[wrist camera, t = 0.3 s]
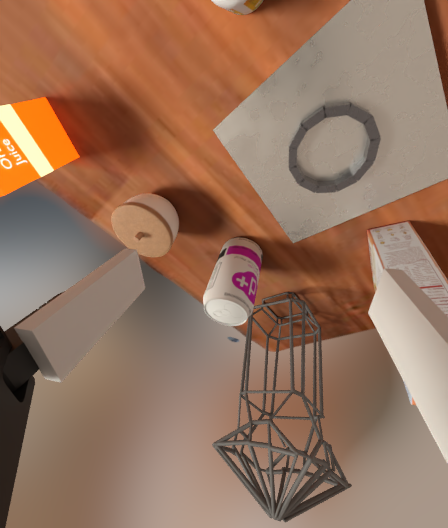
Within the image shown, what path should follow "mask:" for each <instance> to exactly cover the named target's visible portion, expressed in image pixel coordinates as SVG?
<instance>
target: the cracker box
mask: <svg viewBox="0 0 448 528" xmlns="http://www.w3.org/2000/svg"><path fill="white" fill-rule="evenodd" d="M367 235H368V244H369V252H370V260H371V268H372V276H373V285H374V289H375V293H376V290H377V287H378V284H379V282H380V279H381V276H382V273H383V271H384V268H387V269H400V270H403V271H404V272H405V273H406V274H407V275H408V276H409V277H410V278H411V279H412V280H413V281H414V282H415V283H416V284H417V285H418V287H419V288H420V289H421V290H422V291H423V292H424V293H425V294H426V295H427V296H428V297H429V298H430V299H431V300H432V301H433V302H434V303H435V304H436V305H437V306H438V307H439V308H440V309H441V310H442V311H443V312H444V313H445V315H446V316H447V317H448V280H447V278H446V276H445V275H444V273H443V272H442V270H441V269H440V267H439V266H438V264H437V263H436V261H435V260H434V258H433V256H432V255H431V253H430V252H429V250H428V249H427V247H426V246H425V244H424V243H423V241H422V240H421V238H420V236H419V235H418V234H417V232H416V231H415V229H414V227H413V226H412V224H411V223H410V221H406V222H401V223H396V224H392V225H387V226H382V227H378V228H373V229H368V230H367ZM403 381H404V380H403ZM404 384H405V382H404ZM405 388H406V391H407V394H408V397H409V400H410V403H411V404H412V405H416V403H415V401H414V399H413V397H412V396H411V394H410V392H409V390H408V388H407V386H406V384H405Z"/></svg>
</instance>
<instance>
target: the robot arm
mask: <svg viewBox="0 0 448 528" xmlns="http://www.w3.org/2000/svg"><path fill="white" fill-rule="evenodd" d="M144 289H145V285H144V280H143V275H142V271H141V266H140V262H139V257H138V253H137V249H124V250H122V251H121V252H120V253H118V254H117V255H115V256H114V257H113V258H111V259H110V260H108V261H107V262H106V263H104V264H103V265H101V266H100V267H99V268H97V269H96V270H94V271H93V272H92V273H90V274H89V275H87V276H86V277H85V278H83V279H82V280H80V281H79V282H77V283H76V284H75V285H73V286H72V287H70V288H69V289H68V290H66V291H64V292H62V293H60V294H58V295H56V296H55V297H53V298H52V299H51V300H49V301H48V302H47V303H45V304H43V305H42V306H40V307H39V309H36V310H35V311H33V312H32V313H30V314H29V315H28V316H26V317H25V318H23V319H22V320H21V321H19V322H18V323H17V324H15V325H14V326H12V327H11V328H9V329H8V330H6V331H5V332H4V331H3V329H2V328H1V326H0V528H5V526H6V521H7V516H8V511H9V506H10V501H11V496H12V492H13V487H14V482H15V477H16V473H17V467H18V463H19V458H20V453H21V448H22V443H23V439H24V433H25V429H26V424H27V419H28V414H29V409H30V405H31V400H32V395H33V390H34V385H35V379H34V377H33V375H34V374H35V373H36V372H37V371H38V370H40V371H41V373H42V374H43V376H44V378H45V379H48V380H52V381H57V382H62V381H63V380H64V379H65V378H66V377H67V376H68V374H69V373H70V372H71V371H72V370H73V369H74V368H75V367H76V365H77V364H78V363H79V362H80V361H81V360H82V359H83V358H84V356H85V355H86V354H87V353H88V352H89V351H90V350H91V349H92V347H93V346H94V345H95V344H96V343H97V342H98V341H99V340H100V338H101V337H102V336H103V335H104V334H105V333H106V332H107V331H108V330H109V328H110V327H111V326H112V325H113V324H114V323H115V322H116V320H117V319H118V318H119V317H120V316H121V315H122V314H123V313H124V312H125V311H126V309H127V308H128V307H129V306H130V305H131V304H132V303H133V302H134V300H135V299H136V298H137V297H138V296H139V295H140V294H141V292H142V291H143V290H144ZM368 314H369V316H370V317H371V319H372V321H373V323H374V325H375V327H376V329H377V331H378V333H379V334H380V336H381V338H382V340H383V342H384V344H385V346H386V348H387V350H388V352H389V354H390V356H391V357H392V359H393V361H394V363H395V365H396V367H397V369H398V371H399V373H400V375H401V377H402V378H403V380H404V382H405V384H406V386H407V388H408V390H409V392H410V394H411V396H412V397H413V399H414V401H415V403H416V405H417V407H418V409H419V411H420V413H421V415H422V416H423V418H424V420H425V422H426V424H427V426H428V428H429V430H430V432H431V434H432V436H433V438H434V439H435V441H436V443H437V445H438V447H439V449H440V451H441V453H442V455H443V456H444V458H445V460H446V462H447V464H448V317H447V316H446V315H445V313H444V312H443V311H442V310H441V309H440V308H439V307H438V306H437V305H436V304H435V303H434V302H433V301H432V300H431V299H430V298H429V297H428V296H427V295H426V294H425V293H424V292H423V291H422V290H421V289H420V288H419V287H418V285H417V284H416V283H415V282H414V281H413V280H412V279H411V278H410V277H409V276H408V275H407V274H406V273H405V272H404V271H403V270H400V269H387V268H384V271H383V273H382V276H381V279H380V282H379V284H378V287H377V290H376V293H375V295H374V298H373V301H372V304H371V306H370V309H369V312H368Z"/></svg>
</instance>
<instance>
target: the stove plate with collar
mask: <svg viewBox="0 0 448 528" xmlns="http://www.w3.org/2000/svg"><path fill="white" fill-rule="evenodd" d="M213 131H214V132H215V134H216V135H217V137H218V138H219V140H220V141H221V142H222V144H223V145H224V147H225V148H226V149H227V151H228V152H229V154H230V155H231V156H232V158H233V159H234V161H235V162H236V164H237V165H238V166H239V168H240V169H241V171H242V172H243V173H244V175H245V176H246V178H247V179H248V180H249V182H250V183H251V185H252V186H253V187H254V189H255V190H256V192H257V193H258V195H259V196H260V197H261V199H262V200H263V202H264V203H265V204H266V206H267V207H268V209H269V210H270V211H271V213H272V214H273V216H274V217H275V219H276V220H277V221H278V223H279V224H280V226H281V227H282V228H283V230H284V231H285V233H286V234H287V235H288V237H289V238H290V240H291V241H292V242H293V243H295V242H297V241H300V240H302V239H305V238H307V237H309V236H312V235H314V234H316V233H319V232H321V231H324V230H326V229H328V228H331V227H333V226H336V225H338V224H340V223H343V222H345V221H347V220H350V219H352V218H355V217H357V216H359V215H362V214H364V213H367V212H369V211H371V210H374V209H376V208H378V207H381V206H383V205H386V204H388V203H390V202H393V201H395V200H398V199H400V198H402V197H405V196H407V195H409V194H412V193H414V192H417V191H419V190H421V189H424V188H426V187H429V186H431V185H433V184H436V183H438V182H441V181H443V180H445V179H448V109H447V105H446V100H445V96H444V91H443V86H442V82H441V77H440V72H439V68H438V63H437V59H436V54H435V49H434V45H433V40H432V35H431V31H430V26H429V22H428V17H427V12H426V8H425V3H424V0H351V1H350V2H349V3H347V4H346V5H345V6H344V7H343V8H342V9H341V10H340V11H339V12H338V13H337V14H336V15H335V16H334V17H333V18H332V19H330V20H329V21H328V22H327V23H326V24H325V25H324V26H323V27H322V28H321V29H320V30H319V31H318V32H317V33H316V34H314V35H313V36H312V37H311V38H310V39H309V40H308V41H307V42H306V43H305V44H304V45H303V46H302V47H301V48H300V49H299V50H297V51H296V52H295V53H294V54H293V55H292V56H291V57H290V58H289V59H288V60H287V61H286V62H285V63H284V64H283V65H281V66H280V67H279V68H278V69H277V70H276V71H275V72H274V73H273V74H272V75H271V76H270V77H269V78H268V79H267V80H266V81H264V82H263V83H262V84H261V85H260V86H259V87H258V88H257V89H256V90H255V91H254V92H253V93H252V94H251V95H250V96H248V97H247V98H246V99H245V100H244V101H243V102H242V103H241V104H240V105H239V106H238V107H237V108H236V109H235V110H234V111H233V112H231V113H230V114H229V115H228V116H227V117H226V118H225V119H224V120H223V121H222V122H221V123H220V124H219V125H218V126H217V127H216V128H214V129H213Z"/></svg>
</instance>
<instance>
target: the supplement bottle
mask: <svg viewBox="0 0 448 528" xmlns="http://www.w3.org/2000/svg"><path fill="white" fill-rule="evenodd" d="M211 1H212V2H214V3H215V4H216V5H218V6H219V7H221V8H224V9H226V10H228V11H230V12H232V13H234V14H238V15H246V14H249V13H251V12H253V11H254V10H256V9H257V8H258V7H259V6H260V4H261V3H262V2H263V0H211Z"/></svg>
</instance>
